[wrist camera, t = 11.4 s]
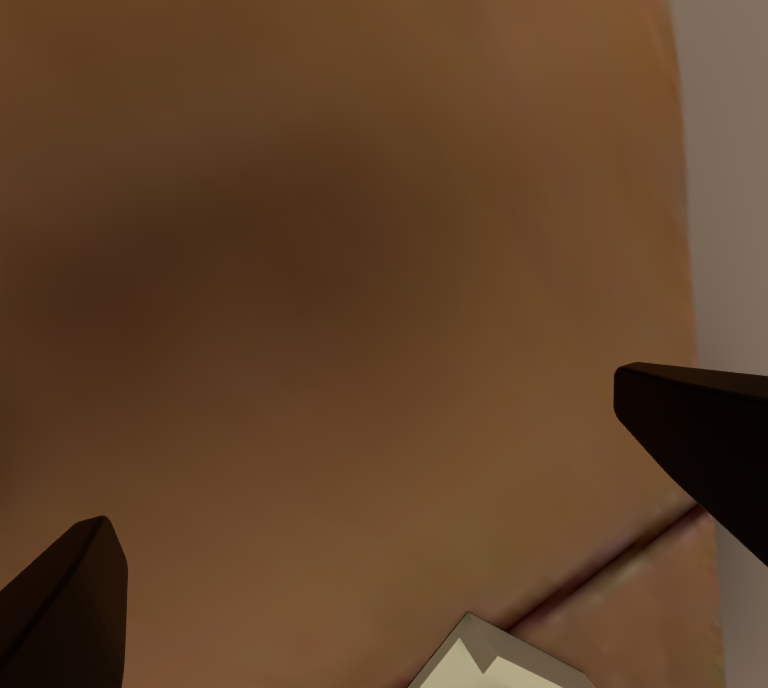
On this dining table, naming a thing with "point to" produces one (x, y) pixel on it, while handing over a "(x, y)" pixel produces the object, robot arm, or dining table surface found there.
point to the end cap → (493, 662)
